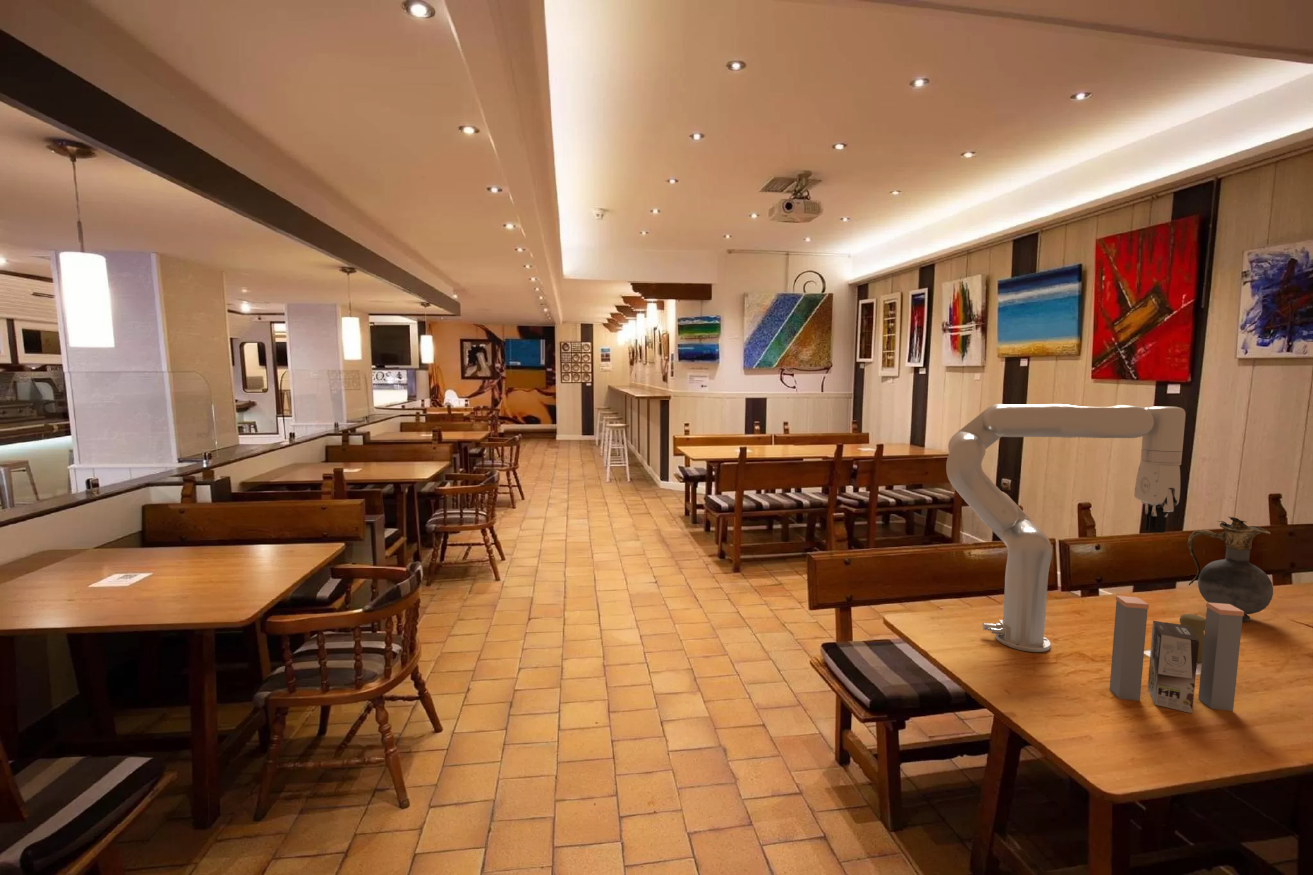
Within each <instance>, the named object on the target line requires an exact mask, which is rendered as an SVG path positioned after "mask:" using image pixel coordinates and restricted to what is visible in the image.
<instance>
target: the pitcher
mask: <svg viewBox="0 0 1313 875" xmlns="http://www.w3.org/2000/svg"><path fill="white" fill-rule="evenodd" d="M1228 518H1229V519H1230V520H1231V521H1232V522H1231V524H1228V523H1227V522H1226V521H1225V520H1217V523H1218V522H1220V523H1219V526H1220V528H1222V529H1223V530H1224V531H1223V532H1220V533H1217V532H1214V531H1211V530H1209V529H1197V530H1195V531H1193V532H1192V533H1190V535H1189V536H1188V539H1187V540H1188V541H1187V543H1186V544H1187V548H1188V550H1189V554H1190V555H1191V558H1192V560H1193V562H1194V564H1195V566H1196V568H1197V572H1196V575H1195V577H1194V578H1193V579H1192V580H1191V581H1190V582H1189V583H1188V586H1190V585H1191V584H1193V583H1194V582H1195V581H1196V580H1197V587H1198V590H1199V591H1198V592H1199V594H1201V597H1202V598H1203V599H1204V600H1205V601H1206V603H1207V602H1208V603H1222V604H1231V605H1233V606H1234V607H1236V608H1238V609H1240V610H1242V611H1244V616H1243V619H1242V623H1245V622H1246V623H1247V622H1250V621H1251V616H1250V615H1253V614H1256V613H1259V612H1261V611H1263V610H1265V609H1266V608H1268V606H1269V605H1270V602H1271V601H1272V599H1273V595H1274V586H1273V583H1272V581H1271V578H1270V577H1269V576H1268V574H1267V573H1266V572H1265V571H1264V570H1262V569H1261V568H1260V567H1258V566H1256V565H1255V564H1252V563H1250V556H1251V555H1250V554H1251V549H1253V548H1252V547H1253V546H1252V545H1253V544H1252V542H1253V540H1254V538H1255V537H1256V536H1257V535H1259V534H1261V533H1262V534H1266V535H1271V532H1270V531H1269V530H1266V529H1264V528H1262V527H1261V526H1255V525H1253V526H1252V525H1249V526H1248V524H1247V525H1246V524H1245V523H1247V521H1246V520H1243V519H1239V518H1238V517H1234V516H1228ZM1198 536H1208V537H1211V538H1213V539H1216V540H1217V539H1218V540H1221V541H1222V542H1224V546H1225V547H1226V548H1225V557H1224V558H1223V559H1218V560H1213V561H1211V562H1209V563H1208V564H1206V565H1205V566H1203V568H1202V569H1201V567H1200V563H1199V562H1198V559H1197V556H1196V555H1195V552H1194V546H1193V545H1194V544H1193V543H1194V541H1195V540H1194V539H1195V538H1196V537H1198Z"/></svg>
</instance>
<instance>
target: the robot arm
mask: <svg viewBox="0 0 1313 875" xmlns="http://www.w3.org/2000/svg"><path fill="white" fill-rule="evenodd" d="M1185 425H1186V411H1185V409H1184V408H1182V407H1178V406H1165V405H1163V406H1160V405H1159V406H1157V405H1156V406H1149V407H1145V406H1138V405H1137V406H1136V405H1129V404H1127V405H1126V404H1118V405H1117V404H1116V405H1113V406H1080V405H1071V404H1064V403H1063V404H1062V403H1047V404H1046V403H1045V404H1044V403H1043V404H1042V403H1040V404H1037V403H1035V404H1033V403H1032V404H1004V403H996V404H992V405H990V406H989V407H987V408H986V409H984V410H983V411H982V412H981V413H979V414H978V415H977V416H976V417H974V418H973V419H972V420H970V421H969V422H968V423H967V424H965V425H964V426H963V427H961V429H959V430H958V431H956V432H955V433H954V434H953V436H951V437H950V439H949V441H948V445H947V447H948V448H947V449H948V452H949V453H948V456H947V459H946V464H945V465H946V466H945V468H946V477H947V479H948V481H949V483H950V484H951V486H952V488H953V489H954V490H955V491H956V492H957V493H958V494H959V496H960V497H961V499H963V500H964V501H965V503H966V504H967V505H968V506H969V507H970V508H971V509H972V511H974V513H975V514H976V515H977V517H978V518H979V520H980V521H981V522H982V523H983V524H985V526H987V527H988V528H990V530H991V531H992V532H993V533H994V534H995V535H996V537H997V538H999V539H1000V540H1001V542H1003V543H1004V545H1005V546H1006V548H1007V558H1006V566H1005V574H1004V575H1005V576H1004V594H1003V595H1004V596H1003V610H1002V613H1003V614H1002V619H998V622H995V623H990V622H989V623H988V622H982V624H981V625H982V630H983V631H990V633H991V634H995V635H994V636H995V639H996V640H997V641H998V642H999V643H1001V644H1003V646H1004V645H1005V646H1007V647H1009V648H1012V649H1014V650H1019V651H1024V652H1028V653H1029V652H1031V653H1042V652H1043V653H1044V652H1047V651H1049V650H1050V649H1051V648H1052V647H1051V644H1052V643H1051V641H1050V640H1049V639H1048V638H1047V637H1046V636H1045V628H1046V614H1047V612H1046V611H1047V595H1048V582H1049V581H1048V580H1049V570H1050V565H1051V561H1052V556H1053V555H1052V554H1053V549H1052V544H1051V541H1050V539H1049V537H1048V536H1047V534H1046V533H1045V532H1044V531H1043V530H1042V529H1041V528H1040V527H1039V526H1038V525H1037V524H1036V523H1035V522H1034V521H1033V520H1032V519H1031V518H1030V517H1029V516H1028V515H1027V514H1026V512H1024V511H1023V509H1022V508H1020V506H1019V505H1018V504H1017V503H1016V502H1015V501H1014V500H1013V498H1011V497H1010V496H1009V494H1007V493H1006V492H1004V491H1001V489H1000V488H999V487H998V485H995V483H994V482H993V481H992V480H991V478H990V477H989V476H988V475H987V474H986V472H984V470H983V467H982V463H983V460H984V458H985V455H986V450H987V449H988V448H990V447H991V446H992V445H994V443H995V442H997V441H998V440H999V439H1000V438H1002V437H1003V438H1024V437H1025V438H1063V439H1065V438H1066V439H1069V438H1074V439H1075V438H1085V439H1086V438H1093V439H1136V438H1141V437H1142V439H1141V451H1140V452H1141V453H1140V463H1139V464H1138V469H1137V473H1136V480H1135V484H1134V485H1135V488H1134V494H1133V496H1134V497H1135V498H1136V500H1138V501H1140V502H1141V503H1142V504H1143V505H1144V513H1145V523H1144V530H1145V531H1148V532H1150V533H1158V534H1159V533H1165V532H1166V523H1167V518H1168V515H1169V513H1172V512H1174V510H1175V509H1174V508H1175V507H1176V506H1177V505H1178V504H1179V502H1180V496H1181V469H1180V468H1181V467H1180V466H1181V465H1182V459H1183V448H1184V447H1183V446H1184V437H1185V436H1184V435H1185Z"/></svg>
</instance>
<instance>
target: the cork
mask: <svg viewBox="0 0 1313 875" xmlns="http://www.w3.org/2000/svg"><path fill="white" fill-rule="evenodd" d="M1179 623H1180V625H1186V626H1189V627H1190V629H1191V630H1192V631H1193V633H1194V634H1195V635H1196V637H1197V638H1198V639H1199V641H1200V642H1199V650H1198V659H1197V664H1202V654H1203V644H1204V633H1205V623H1206V618H1205V617H1203V616H1200V615H1197V614H1193V613H1184V614H1182V615H1181V616H1179Z"/></svg>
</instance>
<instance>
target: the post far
mask: <svg viewBox="0 0 1313 875" xmlns="http://www.w3.org/2000/svg"><path fill="white" fill-rule="evenodd" d="M1205 604H1206V606H1205V607H1206V614H1205V619H1206V623H1205V631H1204V644H1203V654H1202V663H1201V664H1200V665H1201V667H1200V675H1199V676H1200V677H1199V686H1198V696H1197V697H1198V700H1199V701H1200V702H1202V703H1203V705H1206V706H1207V707H1208V708H1209V709H1212V710H1220V711H1230V712H1233V711H1234V707H1235V706H1234V705H1235V696H1236V695H1235V694H1236V685H1237V676H1238V669H1239V668H1238V666H1239V657H1240V656H1239V655H1240V647H1241V638H1242V628H1243V626H1242V625H1243V621H1242V619H1243V616H1244V611H1242V610H1240V609H1238V608H1236V607H1234V606H1233V605H1231V604H1222V603H1208V602H1207V601H1206V603H1205Z"/></svg>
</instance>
